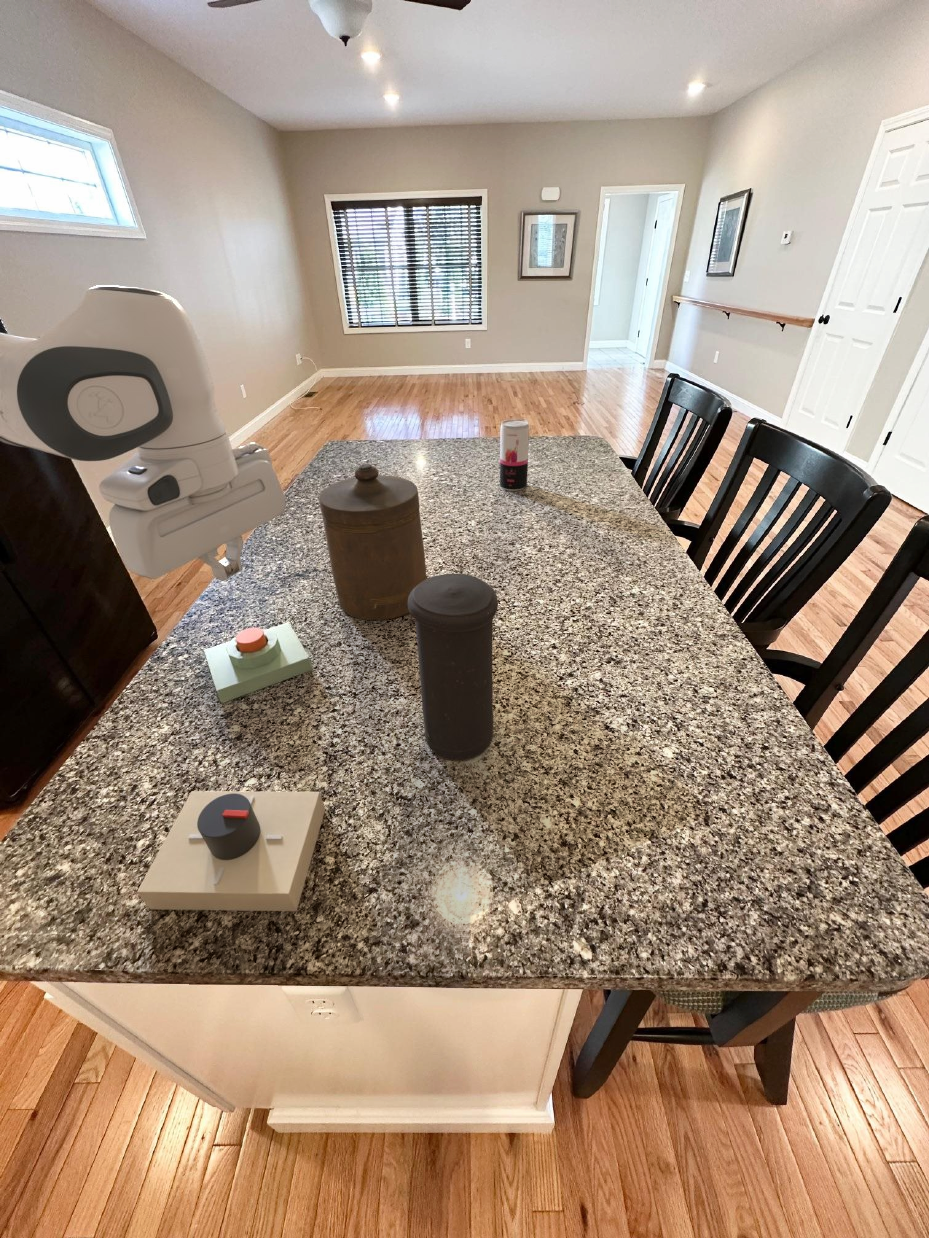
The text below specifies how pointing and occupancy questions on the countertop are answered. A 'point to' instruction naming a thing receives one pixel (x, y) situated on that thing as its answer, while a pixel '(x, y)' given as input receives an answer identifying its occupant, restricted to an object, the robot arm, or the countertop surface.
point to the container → (455, 662)
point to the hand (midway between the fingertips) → (229, 574)
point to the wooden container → (374, 542)
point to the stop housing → (257, 663)
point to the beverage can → (514, 454)
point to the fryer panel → (244, 882)
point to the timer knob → (229, 826)
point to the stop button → (251, 640)
